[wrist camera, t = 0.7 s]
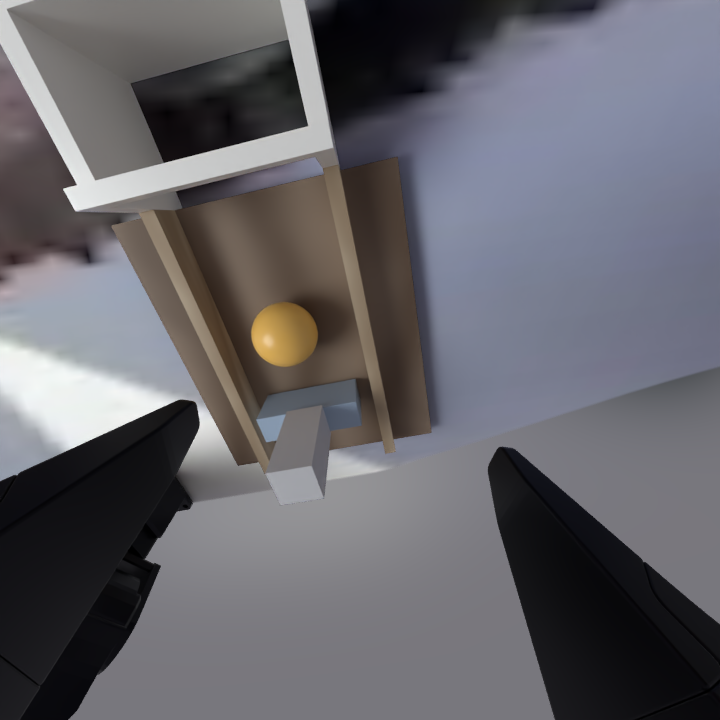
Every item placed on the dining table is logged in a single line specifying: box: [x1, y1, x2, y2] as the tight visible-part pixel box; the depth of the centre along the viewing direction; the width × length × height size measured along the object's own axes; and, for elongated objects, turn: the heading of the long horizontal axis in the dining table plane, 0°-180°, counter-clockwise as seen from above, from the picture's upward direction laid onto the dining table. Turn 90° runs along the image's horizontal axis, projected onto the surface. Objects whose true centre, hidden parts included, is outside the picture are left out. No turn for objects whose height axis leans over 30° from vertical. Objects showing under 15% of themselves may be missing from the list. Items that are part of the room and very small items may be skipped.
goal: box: [0, 0, 340, 213], centre depth 13 cm, size 11×7×7 cm, turn 102°
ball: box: [251, 302, 318, 367], centre depth 18 cm, size 4×4×4 cm
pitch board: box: [112, 157, 431, 474], centre depth 20 cm, size 17×20×3 cm
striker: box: [256, 379, 362, 505], centre depth 19 cm, size 7×2×8 cm, turn 102°
